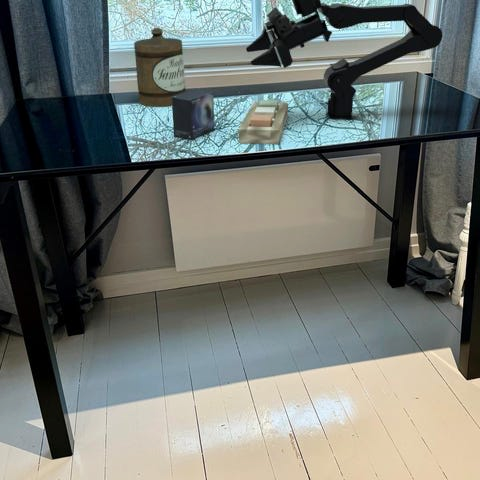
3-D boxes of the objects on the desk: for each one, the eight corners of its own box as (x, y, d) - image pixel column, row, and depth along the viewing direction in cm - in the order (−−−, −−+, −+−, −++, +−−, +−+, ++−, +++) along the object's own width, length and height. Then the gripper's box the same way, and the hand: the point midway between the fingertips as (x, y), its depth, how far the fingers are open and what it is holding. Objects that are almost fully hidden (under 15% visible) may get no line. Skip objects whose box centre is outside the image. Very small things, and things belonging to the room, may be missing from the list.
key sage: (278, 109, 158) (278, 100, 157) (276, 113, 154) (276, 104, 152) (260, 108, 159) (260, 99, 158) (258, 113, 154) (258, 104, 153)
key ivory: (275, 116, 151) (275, 107, 150) (273, 121, 147) (273, 112, 146) (257, 116, 152) (256, 106, 151) (254, 121, 148) (254, 111, 147)
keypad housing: (287, 115, 161) (288, 102, 160) (278, 144, 139) (278, 130, 137) (253, 114, 163) (253, 102, 161) (238, 142, 140) (238, 129, 139)
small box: (192, 140, 143) (190, 99, 138) (172, 136, 146) (169, 96, 141) (216, 129, 151) (214, 90, 146) (196, 126, 154) (194, 87, 149)
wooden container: (166, 109, 170) (160, 32, 159) (129, 103, 177) (121, 30, 166) (195, 98, 181) (191, 26, 170) (159, 93, 188) (153, 23, 177)
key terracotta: (272, 124, 145) (272, 115, 144) (270, 130, 141) (270, 120, 139) (253, 124, 146) (253, 114, 144) (250, 129, 141) (250, 120, 140)
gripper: (286, -8, 150) (233, 17, 152) (300, 15, 136) (241, 42, 138) (299, 30, 157) (248, 53, 159) (314, 55, 143) (258, 81, 145)
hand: (248, 56), depth 150 cm, fingers open, 9 cm apart
